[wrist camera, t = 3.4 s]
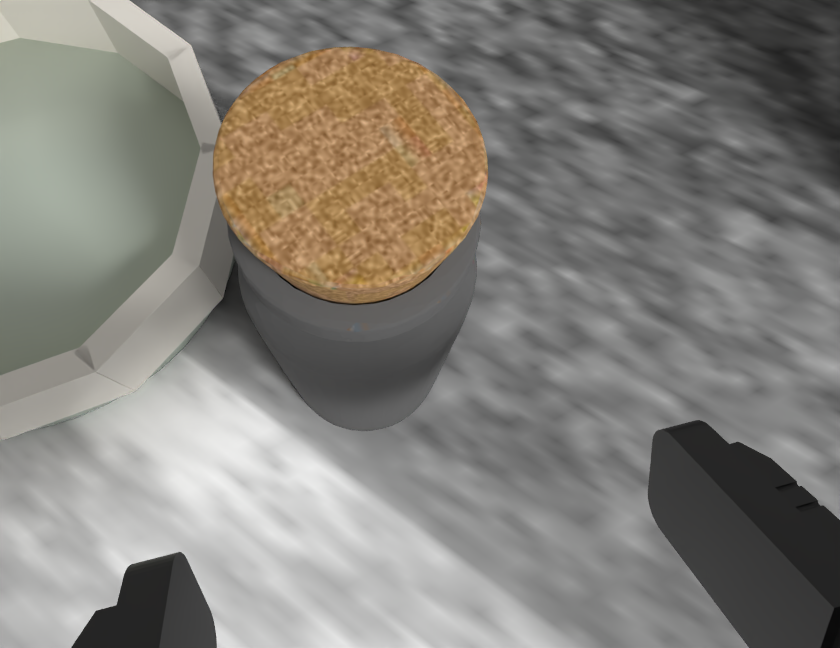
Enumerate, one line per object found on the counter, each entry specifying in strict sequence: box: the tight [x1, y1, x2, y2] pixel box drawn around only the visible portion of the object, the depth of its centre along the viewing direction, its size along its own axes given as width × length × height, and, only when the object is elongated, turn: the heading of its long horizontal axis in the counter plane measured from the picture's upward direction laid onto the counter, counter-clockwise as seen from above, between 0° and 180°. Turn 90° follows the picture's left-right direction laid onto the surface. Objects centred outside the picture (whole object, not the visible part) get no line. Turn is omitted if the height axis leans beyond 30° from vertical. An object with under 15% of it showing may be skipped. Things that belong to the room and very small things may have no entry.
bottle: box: [213, 47, 488, 431], centre depth 17 cm, size 6×6×15 cm
